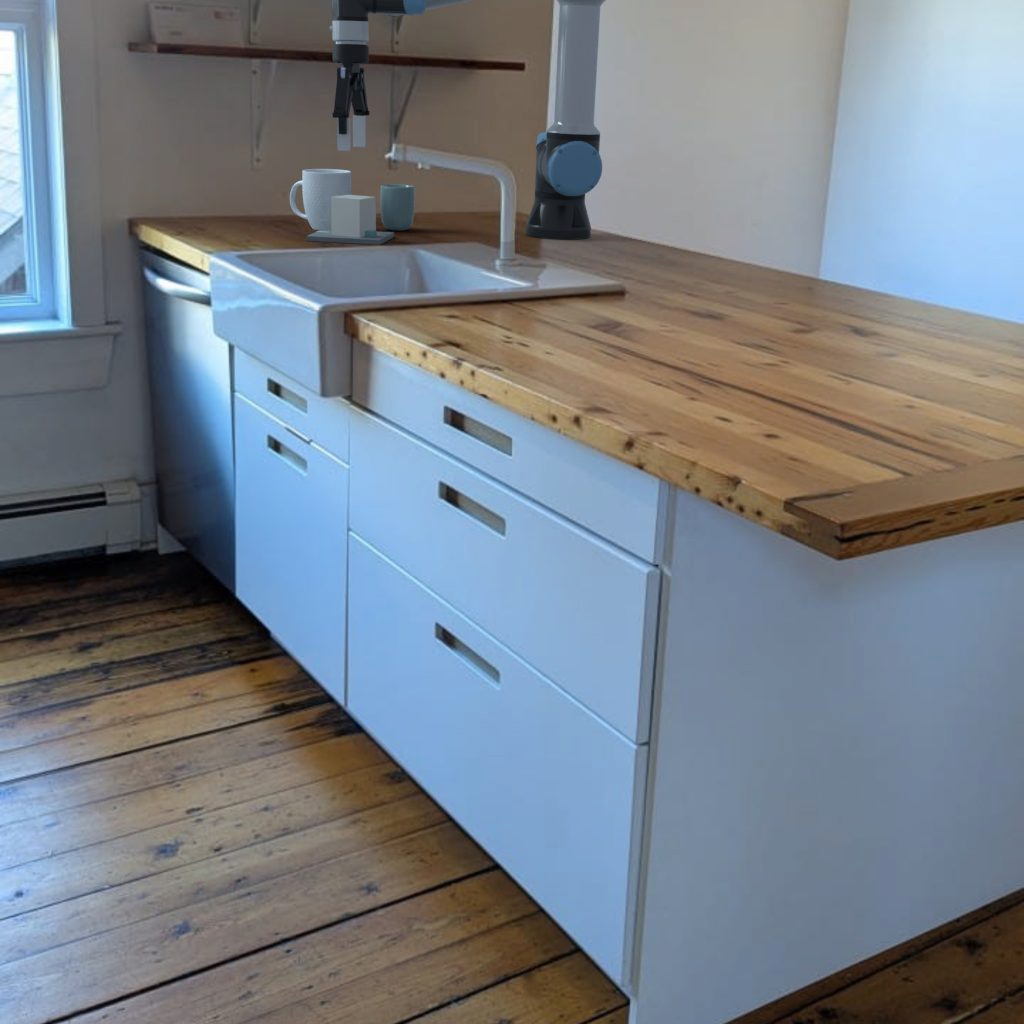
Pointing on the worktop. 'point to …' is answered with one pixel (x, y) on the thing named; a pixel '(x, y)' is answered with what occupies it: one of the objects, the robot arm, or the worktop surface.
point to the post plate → (326, 236)
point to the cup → (397, 206)
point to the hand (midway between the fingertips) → (352, 148)
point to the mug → (320, 194)
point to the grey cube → (353, 216)
